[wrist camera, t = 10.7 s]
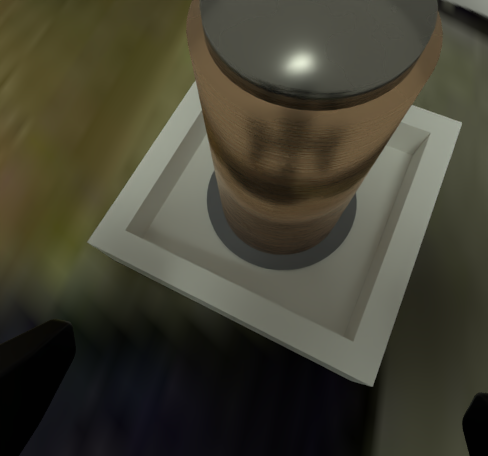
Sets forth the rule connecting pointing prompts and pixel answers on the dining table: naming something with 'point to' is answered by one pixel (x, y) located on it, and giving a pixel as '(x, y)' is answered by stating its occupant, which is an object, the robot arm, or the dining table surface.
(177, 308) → the dining table surface
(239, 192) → the spout can
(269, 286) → the tray
